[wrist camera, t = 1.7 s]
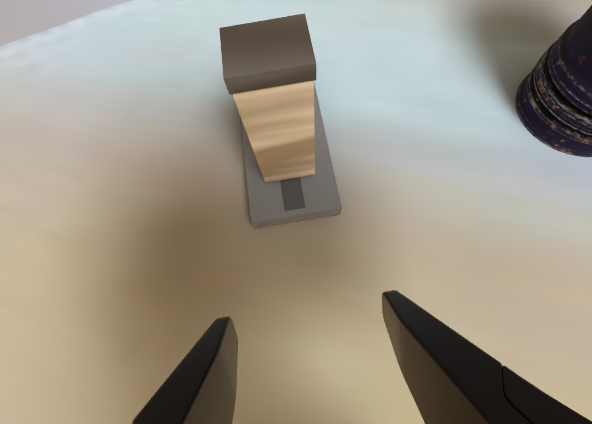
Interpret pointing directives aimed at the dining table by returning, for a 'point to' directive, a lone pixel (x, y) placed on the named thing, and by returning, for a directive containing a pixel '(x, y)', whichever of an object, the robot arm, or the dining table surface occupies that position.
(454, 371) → the robot arm
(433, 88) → the dining table surface
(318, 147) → the fader track
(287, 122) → the lever
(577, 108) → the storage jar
